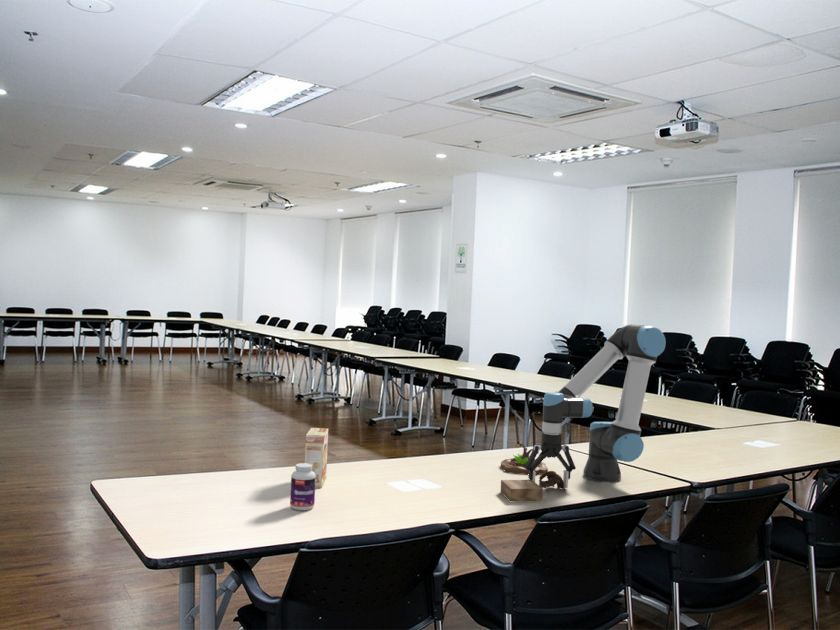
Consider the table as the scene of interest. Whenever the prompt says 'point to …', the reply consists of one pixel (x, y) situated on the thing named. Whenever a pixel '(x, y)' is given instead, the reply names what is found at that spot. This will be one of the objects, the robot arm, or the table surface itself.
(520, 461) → the plant
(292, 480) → the pill bottle
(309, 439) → the coffeecake box
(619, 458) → the robot arm
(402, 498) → the table surface
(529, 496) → the walnut block
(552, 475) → the dark brown figurine
